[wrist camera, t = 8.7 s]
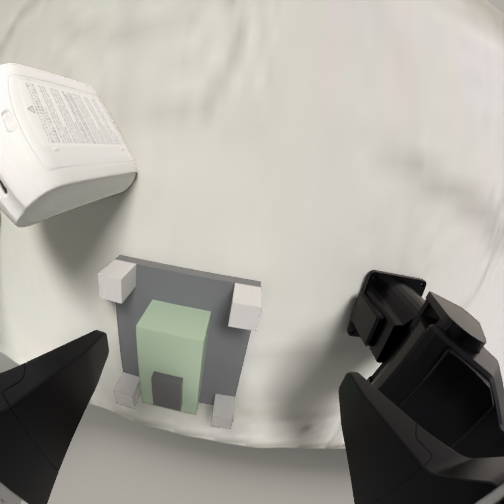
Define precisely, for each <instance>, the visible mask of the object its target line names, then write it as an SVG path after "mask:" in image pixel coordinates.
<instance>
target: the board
mask: <svg viewBox="0 0 504 504" xmlns="http://www.w3.org/2000/svg"><path fill="white" fill-rule="evenodd" d="M210 317H211V311H206V310H201V309H196V308H191V307H186V306H181V305H176V304H171V303H167V302H162V301H157V300H152V301H151V303H150V304H149V306H148V307H147V309H146V311H145V312H144V314H143V315H142V317H141V319H140V320H139V322H138V323H137V325H136V338H137V353H138V365H139V376H140V385H141V393H142V401H143V402H144V403H148V404H151V405H155V406H159V407H163V408H167V409H171V410H176V411H180V412H185V413H190V414H195V415H196V412H197V407H198V402H199V397H200V392H201V387H202V379H203V371H204V363H205V355H206V347H207V339H208V331H209V324H210Z"/></svg>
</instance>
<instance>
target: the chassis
mask: <svg viewBox="0 0 504 504" xmlns="http://www.w3.org/2000/svg"><path fill="white" fill-rule="evenodd" d="M98 288H99V298H102V299H106V300H109V301H113V302H116V309H117V322H118V333H119V343H120V352H121V359H122V367H123V374H122V376H121V378H120V380H119V382H118V384H117V386H116V388H115V390H114V396H115V400H116V403H118V404H121V405H124V406H127V407H130V408H134V407H135V405H136V402H137V400H138V397H139V395H140V392H141V385H140V376H139V365H138V353H137V338H136V325H137V323H138V322H139V320H140V319H141V317H142V315H143V314H144V312H145V311H146V309H147V307H148V306H149V304H150V303H151V301H152V300H157V301H162V302H167V303H171V304H176V305H181V306H186V307H191V308H196V309H201V310H206V311H211V317H210V324H209V331H208V339H207V347H206V355H205V363H204V371H203V379H202V387H201V392H200V397H199V402H200V403H206V404H212V405H214V406H213V414H212V421H211V426H213V427H219V428H226V429H231V426H232V422H233V419H234V404H235V395H236V390H237V386H238V382H239V378H240V374H241V370H242V366H243V362H244V357H245V353H246V349H247V345H248V341H249V336H250V332H251V330H253V331H256V330H257V326H258V321H259V317H260V313H261V309H262V299H261V282H259V281H253V280H248V279H242V278H236V277H230V276H225V275H219V274H214V273H208V272H203V271H198V270H192V269H187V268H182V267H177V266H171V265H166V264H161V263H156V262H151V261H146V260H141V259H136V258H132V257H127V256H122V255H119V256H118V257H117V258H116V259H115V260H113V261H112V262H111V263H110V264H109V265H107V266H106V267H105V268H104V269H103V270H102V271H101V272H99V273H98Z"/></svg>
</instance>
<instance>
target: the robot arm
mask: <svg viewBox="0 0 504 504" xmlns="http://www.w3.org/2000/svg"><path fill="white" fill-rule="evenodd" d="M373 275H375V277H374V278H372V276H373ZM421 284H422V285H421ZM420 285H421V286H420ZM425 287H426V282H425V281H424V280H423V279H420V278H414V277H409V276H404V275H398V274H393V273H388V272H382V271H377V270H372V271H370V272H369V274H368V276H367V279H366V282H365V284H364V287H363V290H362V292H361V293H360V294H359V297H358V299H357V302H356V305H355V307H354V310H353V312H352V315H351V321H350V323H349V326H348V328H347V332H348V334H349V335H350V336H357V337H361V338H362V340H363V342H364V344H365V346H369V348H370V349H371V351H372V353H373V355H374V357H375V359H376V361H377V362H378V363H382V364H381V365H380V367H379V368H378V369H377V370H376V371H375V373H374V374H373V375H372V376H370V377H369V378H368V379H367V380H366V379H365V378H364V377H363V376H361V375H360V374H359V373H357V372H349V373H347V374H346V376H345V378H344V379H343V381H342V383H341V385H340V387H339V402H340V415H341V426H342V431H343V437H344V442H345V447H346V453H347V459H348V464H349V470H350V476H351V482H352V489H353V496H354V502H355V504H504V387H503V382H502V377H501V372H500V367H499V363H498V361H497V359H496V358H495V357H494V356H493V355H492V354H491V353H489V352H488V351H487V350H486V349H485V348H484V347H483V346H484V345H485V343H486V338H485V336H484V333H483V330H482V328H481V325H480V323H479V322H478V321H477V320H476V319H475V318H474V317H473V316H472V315H470V314H469V313H468V312H467V311H465V310H464V309H463V308H462V307H460V306H458V305H456V304H454V303H452V302H450V301H448V300H446V299H444V298H442V297H440V296H438V295H436V294H434V293H433V292H430V291H429V293H428V295H427V296H426V301H425V300H424V299H423V298H422V294H423V292H424V290H425ZM353 329H354V331H351V330H353ZM108 353H109V347H108V340H107V335H106V333H105V332H102V331H99V330H95V331H92V332H90V333H88V334H86V335H84V336H82V337H80V338H78V339H75V340H73V341H71V342H69V343H67V344H65V345H63V346H60V347H58V348H56V349H54V350H52V351H50V352H48V353H45V354H43V355H41V356H39V357H37V358H35V359H32V360H30V361H28V362H26V363H24V364H22V365H20V366H17V367H15V368H12V369H10V370H8V371H5V372H2V373H0V504H20V503H21V501H22V500H23V501H25V502H26V503H28V504H47V502H48V500H49V497H50V493H51V491H52V488H53V485H54V483H55V480H56V477H57V475H58V471H59V469H60V467H61V464H62V461H63V459H64V457H65V454H66V452H67V449H68V447H69V445H70V442H71V440H72V437H73V435H74V433H75V431H76V428H77V426H78V424H79V422H80V420H81V418H82V416H83V413H84V411H85V409H86V407H87V405H88V403H89V401H90V399H91V397H92V395H93V393H94V391H95V388H96V386H97V384H98V381H99V378H100V375H101V373H102V370H103V367H104V365H105V362H106V359H107V357H108Z"/></svg>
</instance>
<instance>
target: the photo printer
mask: <svg viewBox="0 0 504 504" xmlns="http://www.w3.org/2000/svg"><path fill="white" fill-rule="evenodd" d="M136 172H138V169H137V166H136V163H135V161H134V158H133V156H132V154H131V152H130V150H129V149H128V147H127V145H126V143H125V141H124V140H123V138H122V136H121V134H120V132H119V131H118V129H117V127H116V125H115V124H114V122H113V120H112V118H111V117H110V115H109V113H108V111H107V109H106V108H105V106H104V104H103V103H102V101H101V99H100V98H99V96H98V95H97V93H96V92H95V91H94V90H93V89H92V88H91V87H90V86H89V85H87V84H84V83H81V82H78V81H75V80H72V79H69V78H66V77H63V76H59V75H56V74H53V73H49V72H46V71H42V70H39V69H35V68H31V67H27V66H23V65H20V64H16V63H7V64H3V65H0V209H1V210H2V211H3V212H4V214H5V215H6V216H7V217H8V218H9V219H10V220H11V221H12V222H13V223H14V224H15V225H16V226H18V227H27V226H30V225H33V224H35V223H37V222H40V221H42V220H45V219H47V218H50V217H53V216H56V215H58V214H60V213H63V212H66V211H69V210H72V209H74V208H77V207H80V206H83V205H85V204H89V203H91V202H94V201H97V200H100V199H103V198H106V197H109V196H112V195H115V194H118V193H121V192H123V191H125V190H126V189H127V188H128V187H129V186H130V185H131V184H132V182H133V180H134V178H135V173H136Z"/></svg>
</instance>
